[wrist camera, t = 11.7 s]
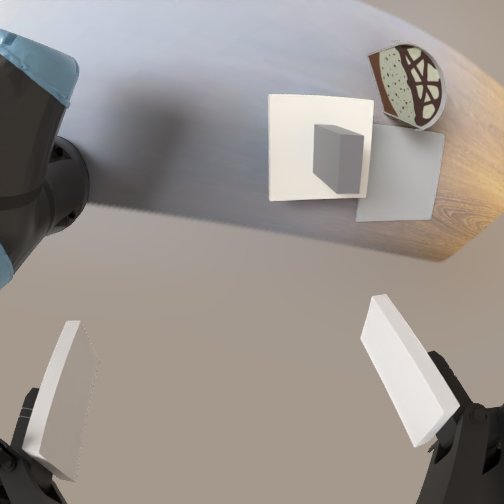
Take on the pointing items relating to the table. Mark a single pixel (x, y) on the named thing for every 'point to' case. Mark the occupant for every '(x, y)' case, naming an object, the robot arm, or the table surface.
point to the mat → (401, 174)
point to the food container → (409, 83)
